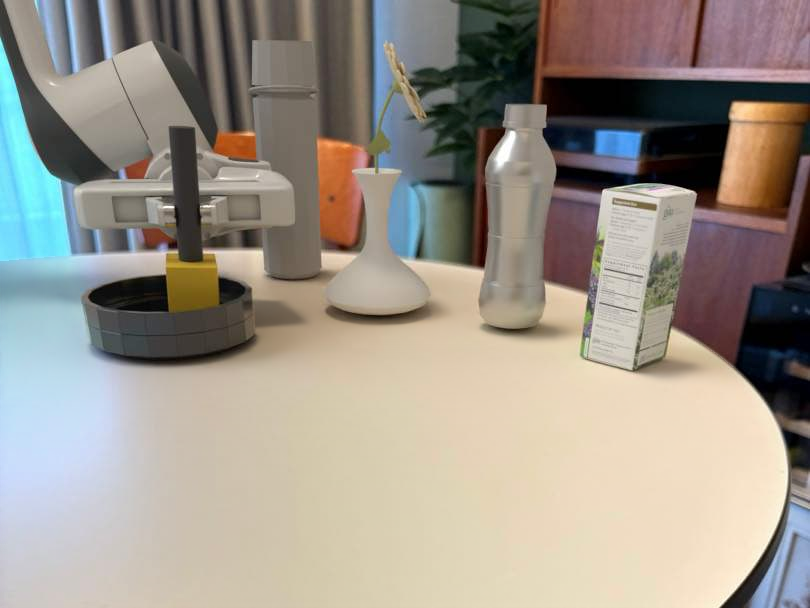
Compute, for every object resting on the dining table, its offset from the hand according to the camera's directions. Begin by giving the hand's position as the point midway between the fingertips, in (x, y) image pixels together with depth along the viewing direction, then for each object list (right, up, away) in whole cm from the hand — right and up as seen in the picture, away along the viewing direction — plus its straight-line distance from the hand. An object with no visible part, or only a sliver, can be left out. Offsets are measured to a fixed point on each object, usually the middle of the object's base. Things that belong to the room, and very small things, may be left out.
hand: (188, 216), depth 73 cm
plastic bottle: (+30, -7, +11) cm, 33 cm away
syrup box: (+39, -12, +2) cm, 41 cm away
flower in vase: (+16, -4, +17) cm, 24 cm away
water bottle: (+5, +5, +31) cm, 32 cm away
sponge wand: (-1, -7, +5) cm, 9 cm away
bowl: (-3, -10, +5) cm, 11 cm away
